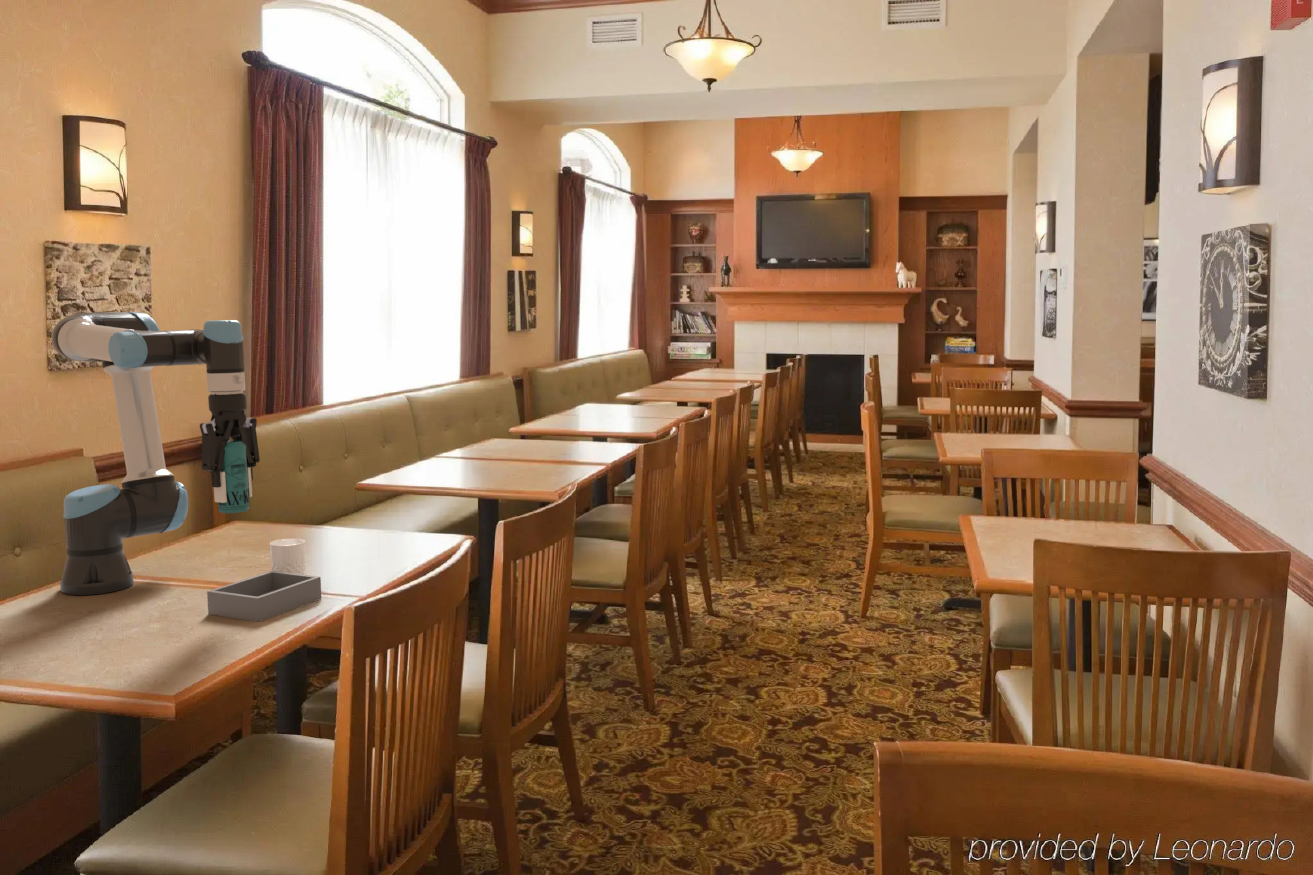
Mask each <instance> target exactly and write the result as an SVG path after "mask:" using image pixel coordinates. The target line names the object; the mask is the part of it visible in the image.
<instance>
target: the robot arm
mask: <svg viewBox="0 0 1313 875" xmlns="http://www.w3.org/2000/svg"><path fill="white" fill-rule="evenodd" d="M51 343H52V346H53V347H54V349H55V351H56V352H57V353H58V354H59V355H60V356H62V357H63V358H65V359H68V360H71V361H76V362H87V363H89V362H91V363H95V362H97V363H98V362H101V365H102V370H103V372H105V373H106V374H107V375H109V376H110V377H111V383H112V388H113V395H114V402H115V408H116V414H117V420H118V426H119V432H120V438H121V443H122V444H121V445H122V450H123V451H122V452H123V457H124V463H125V469H126V474H125V475H126V476H125V477H124V478H123V479H122V480H121V482H120V483H121V487H122V488H121V489H120V487H119V485H117V484H115V483H114V484H113V483H109V484H108V483H104V484H100V485H98V484H96V485H90V486H85V487H83V488H79V489H76V490H74V491H71V492H70V493H68V494H67V495H66V496H65V497H64V499H63V513H62V518H63V520H64V531H65V532H64V534H65V535H64V536H65V546H66V549H65V550H66V559H65V563H64V567H63V570H62V571H63V572H62V577H61V579H60V583H59V586H60V592H61V593H62V594H65V595H69V596H70V595H71V596H90V595H100V594H106V593H107V594H108V593H112V592H117V591H121V590H124V589H127V588H130V587H132V586H133V585H134V574H133V571H132V570H131V567H130V564H129V562H128V560H127V556H126V555H125V551H124V541H123V539H124V540H125V539H129V538H136V537H142V536H147V535H153V534H154V535H155V534H163V533H165V532H170V531H175V530H177V529H178V528H180V527H181V526H182V525H183V524H184V523H185V521H186V517H187V516H188V511H189V495H188V491H187V489H186V487H185V485H184V484H183V483H182V482H179V481H176V480H175V474H174V472H173V473H172V472H171V471H170V470H168V469H167V467H166V460H165V454H164V449H163V448H164V447H163V443H162V436H161V430H160V424H159V417H158V410H157V405H156V399H155V393H154V386H153V381H152V375H151V373H152V371H153V369H154V368H155V367H168V366H169V367H170V366H172V367H173V366H194V365H198V366H199V365H205V367H206V383H207V384H206V385H207V386H206V387H207V392H208V393H209V392H210V394H208V396H207V399H208V410H209V412H210V413H211V418H210V421H207V422H206V423H203V422H202V423H200V424H199V428H200V429H199V430H200V433H201V469H202V471H206V472H209V473H210V480H211V482H210V483H211V487H212V488H213V496H214V497H213V498H214V503H217V502H221V503H225V502H227V496H226V481H225V472H221V470H222V465H223V460H224V455H225V449H224V448H225V446H226V445H227V441H230V439H231V440H232V441H233V440H238V441H242V442H243V443H244V444H245V445H246V461H247V464H248V465H247V476H248V484H249V485H248V488H249V498H252V497H253V488H252V487H253V486H252V485H253V484H252V482H253V479H254V476H253V475H254V474H253V472H254V471H253V467H257V463H259V462H260V450H259V445H258V444H259V442H258V436H257V430H256V429H257V424H258V423H257V418H256V417H247V415H246V414H245V411H246V410H247V408H248V406H247V403H248V402H247V394H245V392H243V391H245V390H246V377H245V376H246V375H245V353H244V336H243V330H242V324H241V322H240V321H239V320H236V319H233V320H232V319H229V320H227V319H223V320H221V319H219V320H218V319H217V320H216V319H215V320H206V321H205V322H204V324H203V329H198V328H197V329H182V330H181V329H179V330H178V329H175V330H172V329H171V330H160V328H159V326H158V323H157V321H155V320H154V319H153V318H152V316H150V315H149V314H147V313H145V312H134V311H113V312H111V311H110V312H108V311H106V312H89V311H88V312H78V313H74V314H71V315H67V316H65V317H63V318H62V319H61V320H59V321H58V322H57V323H56V324H55V325H54V327H53V330H52V333H51ZM233 426H238V427H239V430H240V435H236V436H230V434H231V429H232V428H233Z"/></svg>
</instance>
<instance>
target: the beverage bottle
mask: <svg viewBox="0 0 1313 875" xmlns="http://www.w3.org/2000/svg"><path fill="white" fill-rule="evenodd" d="M236 435H240V430H239V427H238V426H233V428H232V429H231V434H230V436H236ZM224 449H225V455H224V460H223V465H222V470H221V472H225V481H226V496H227V502H225V503H221V502H216V503H217V510H218V511H219V513H220V514H235V513H236V514H238V513H243V512H247V511H249V509H250V505H251V504H250V497H249V488H248V485H249V484H248V476H247V465H248V464H247V461H246V445H245V444H244V443H243V442H242V441H238V440H233V439H232V440H229V441H227V445H226V446H225V448H224Z"/></svg>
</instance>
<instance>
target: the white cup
mask: <svg viewBox="0 0 1313 875" xmlns="http://www.w3.org/2000/svg"><path fill="white" fill-rule="evenodd" d="M269 551H270V562H271V571H277V572H285V573H293V574H301V575H305V569H306V568H305V567H306V566H305V563H306V540H305V539H302V538H282V539H276V540H273V541H270V542H269Z"/></svg>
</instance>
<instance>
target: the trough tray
mask: <svg viewBox="0 0 1313 875" xmlns="http://www.w3.org/2000/svg"><path fill="white" fill-rule="evenodd" d="M321 579H322V578H321V576H316V575H307V574H304V575H301V574H293V573H285V572H277V571H272V570H271V571H267V572H264V573H261V574H257V575H254V576H251V577H248V578H245V579H243V580H239V581H236V582H232V583H229V584H226V585H222V586H220V587H217V588H214V589H211V590H207V591H206V595H207V597H206V598H207V612H208V613H207V614H208V615H212V616H219V617H224V618H229V619H230V618H231V619H238V620H244V621H251V622H263V621H266V620H268V619H271V618H273V617H275V616H278V615H281V614H285V613H287V612H290V611H292V610H294V609H297V608H299V607H302V606H305V605H308V604H311V603H313V602H317V601H319V600H321V599H322V583H321V582H322V580H321Z"/></svg>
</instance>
